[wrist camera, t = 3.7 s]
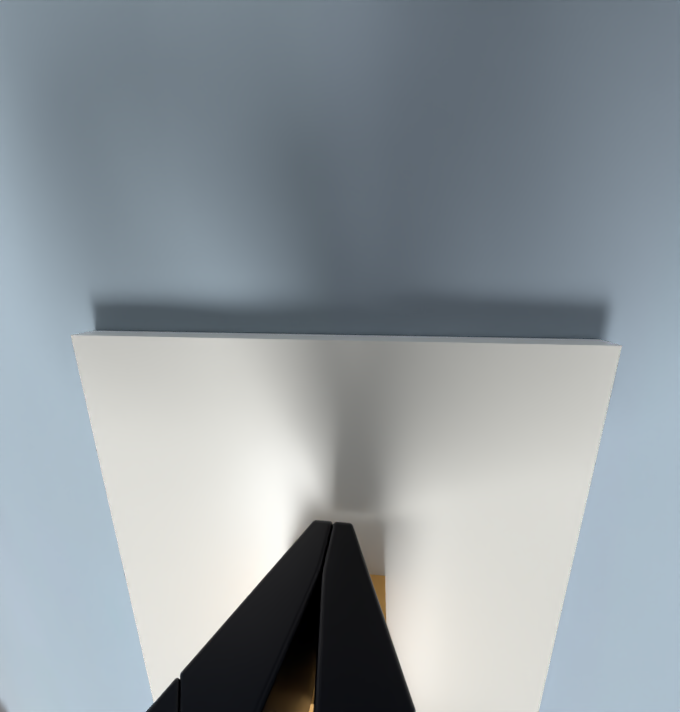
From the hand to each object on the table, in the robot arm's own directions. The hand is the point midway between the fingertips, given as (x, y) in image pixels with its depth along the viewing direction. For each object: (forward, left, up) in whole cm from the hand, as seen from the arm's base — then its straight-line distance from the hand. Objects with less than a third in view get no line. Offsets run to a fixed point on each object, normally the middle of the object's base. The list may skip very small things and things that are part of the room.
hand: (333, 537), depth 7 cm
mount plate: (0, +15, -1) cm, 15 cm away
